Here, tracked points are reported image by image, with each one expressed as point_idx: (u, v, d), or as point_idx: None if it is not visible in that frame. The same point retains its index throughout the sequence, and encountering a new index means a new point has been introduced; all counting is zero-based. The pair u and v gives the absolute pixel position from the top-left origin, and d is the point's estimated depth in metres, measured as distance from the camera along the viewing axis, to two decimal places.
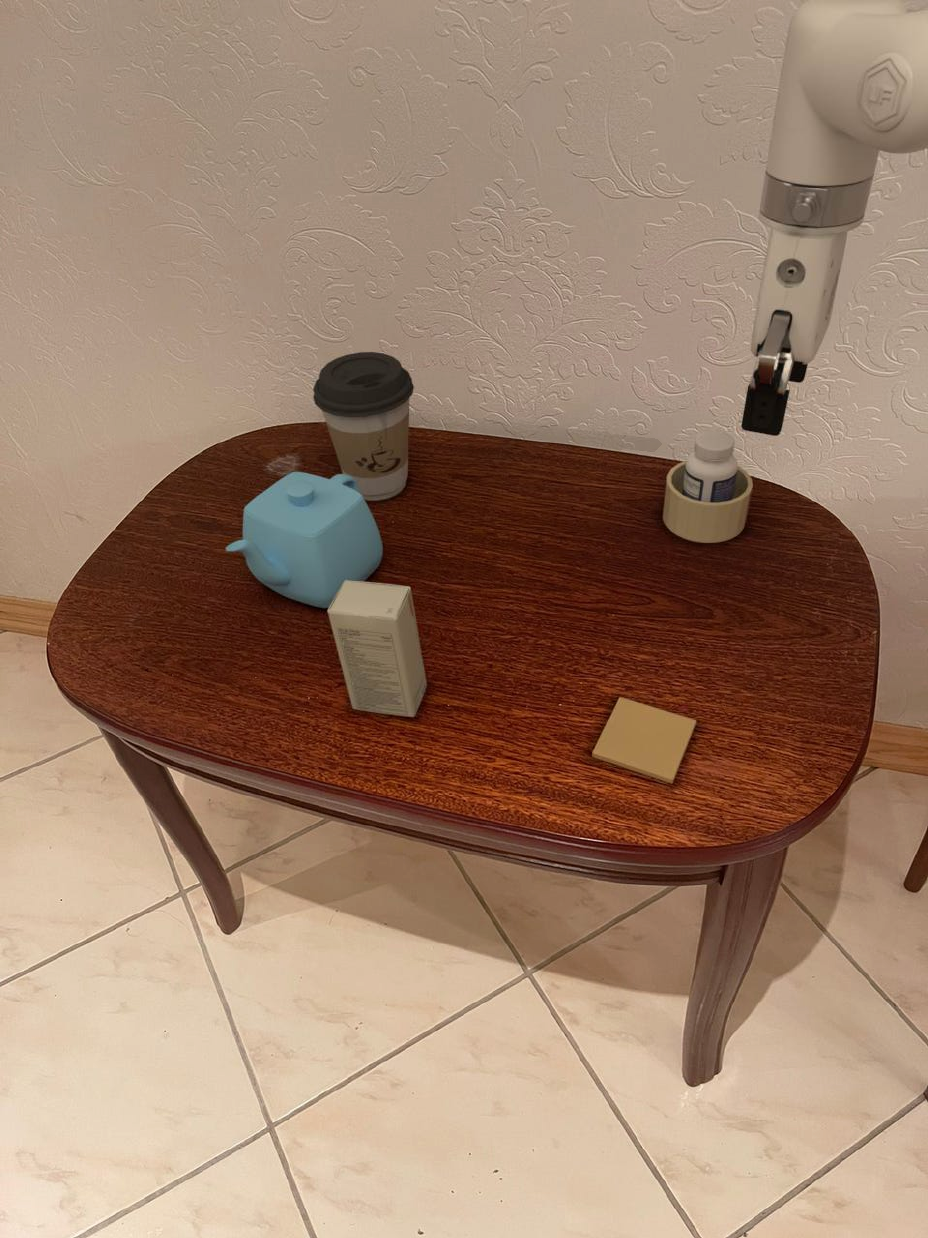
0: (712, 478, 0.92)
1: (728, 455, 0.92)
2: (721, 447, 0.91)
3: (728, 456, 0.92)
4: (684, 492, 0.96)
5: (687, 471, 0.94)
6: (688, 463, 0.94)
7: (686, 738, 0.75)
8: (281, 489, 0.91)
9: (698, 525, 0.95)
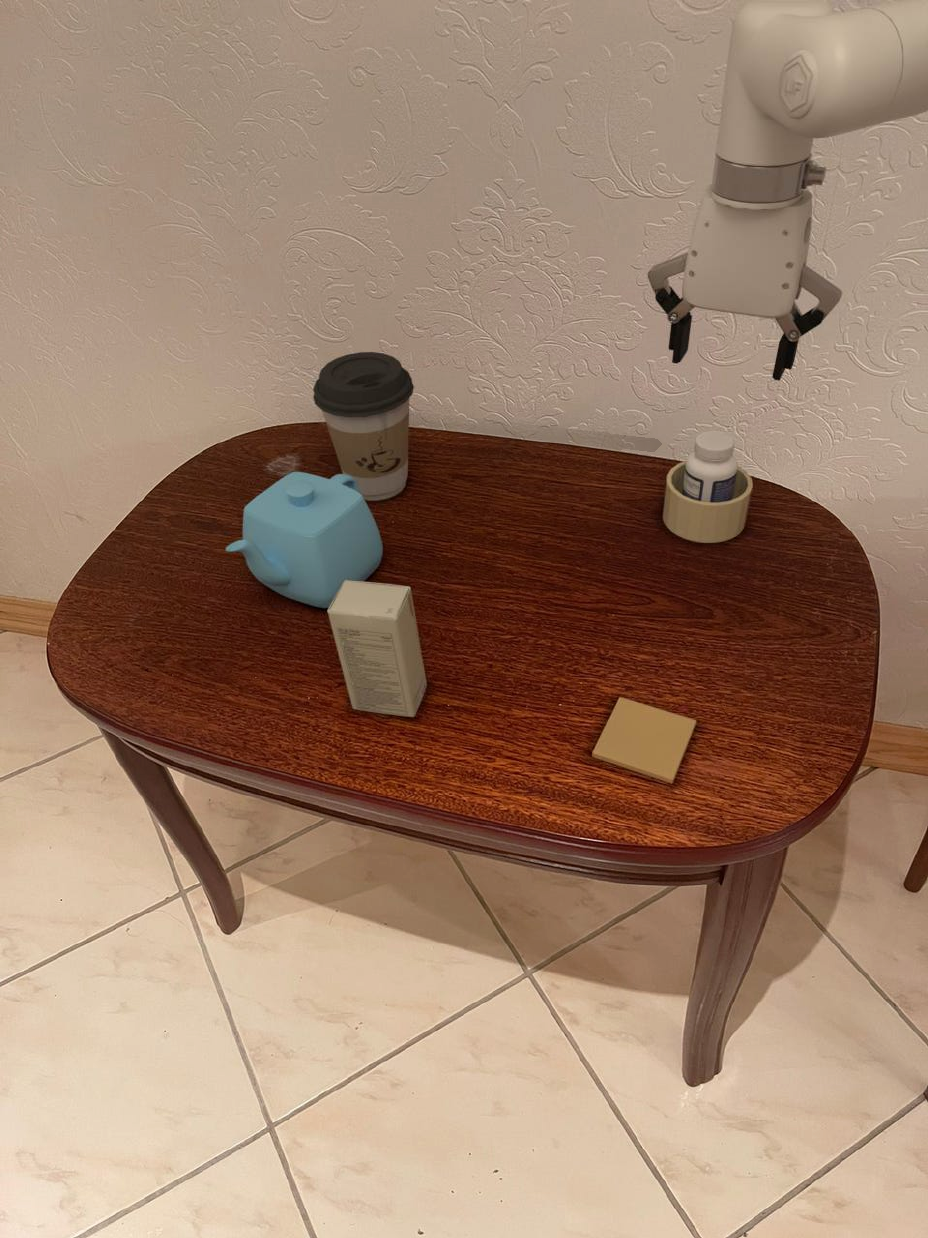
0: (712, 478, 0.92)
1: (728, 455, 0.92)
2: (721, 447, 0.91)
3: (728, 456, 0.92)
4: (684, 492, 0.96)
5: (687, 471, 0.94)
6: (688, 463, 0.94)
7: (686, 738, 0.75)
8: (281, 489, 0.91)
9: (698, 525, 0.95)
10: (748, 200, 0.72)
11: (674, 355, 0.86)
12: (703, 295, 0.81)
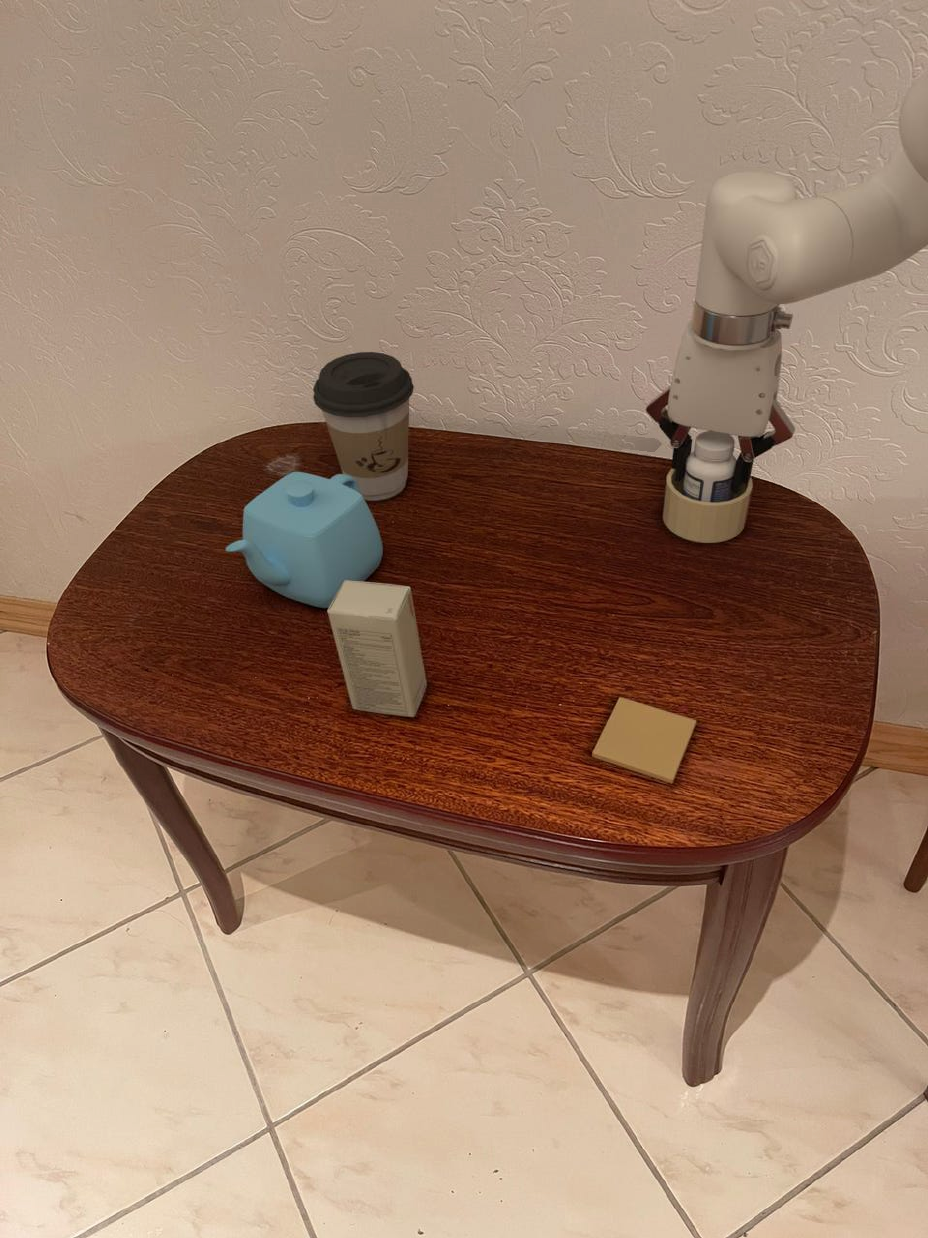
0: (712, 478, 0.92)
1: (728, 455, 0.92)
2: (721, 447, 0.91)
3: (728, 456, 0.92)
4: (684, 492, 0.96)
5: (687, 471, 0.94)
6: (688, 463, 0.94)
7: (686, 738, 0.75)
8: (281, 489, 0.91)
9: (698, 525, 0.95)
10: (724, 342, 0.82)
11: (676, 475, 0.95)
12: (686, 415, 0.90)
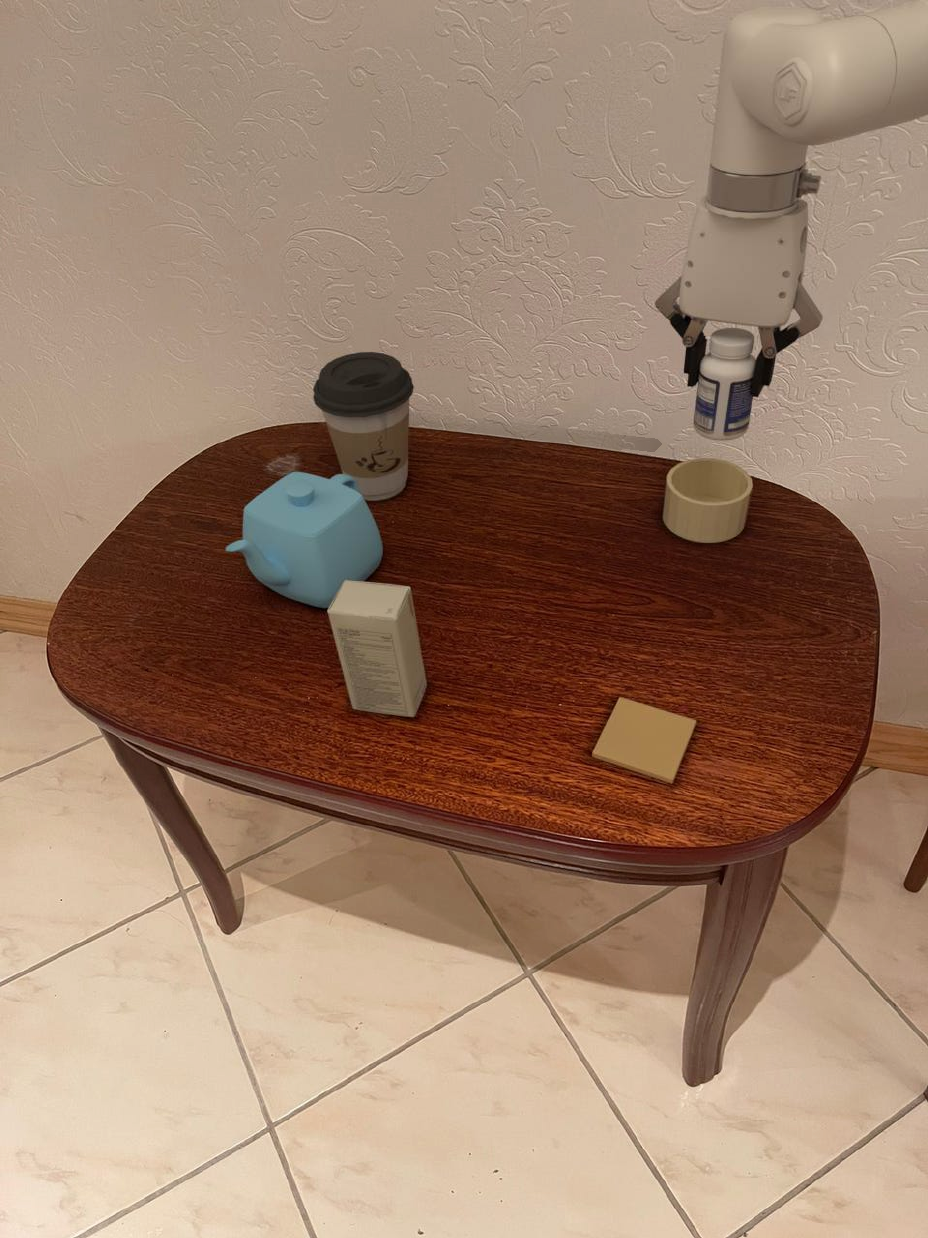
0: (730, 378, 0.83)
1: (747, 352, 0.82)
2: (739, 342, 0.82)
3: (747, 353, 0.82)
4: (698, 399, 0.87)
5: (701, 373, 0.85)
6: (702, 364, 0.85)
7: (686, 738, 0.75)
8: (281, 489, 0.91)
9: (698, 525, 0.95)
10: (743, 209, 0.72)
11: (689, 378, 0.86)
12: (700, 305, 0.80)
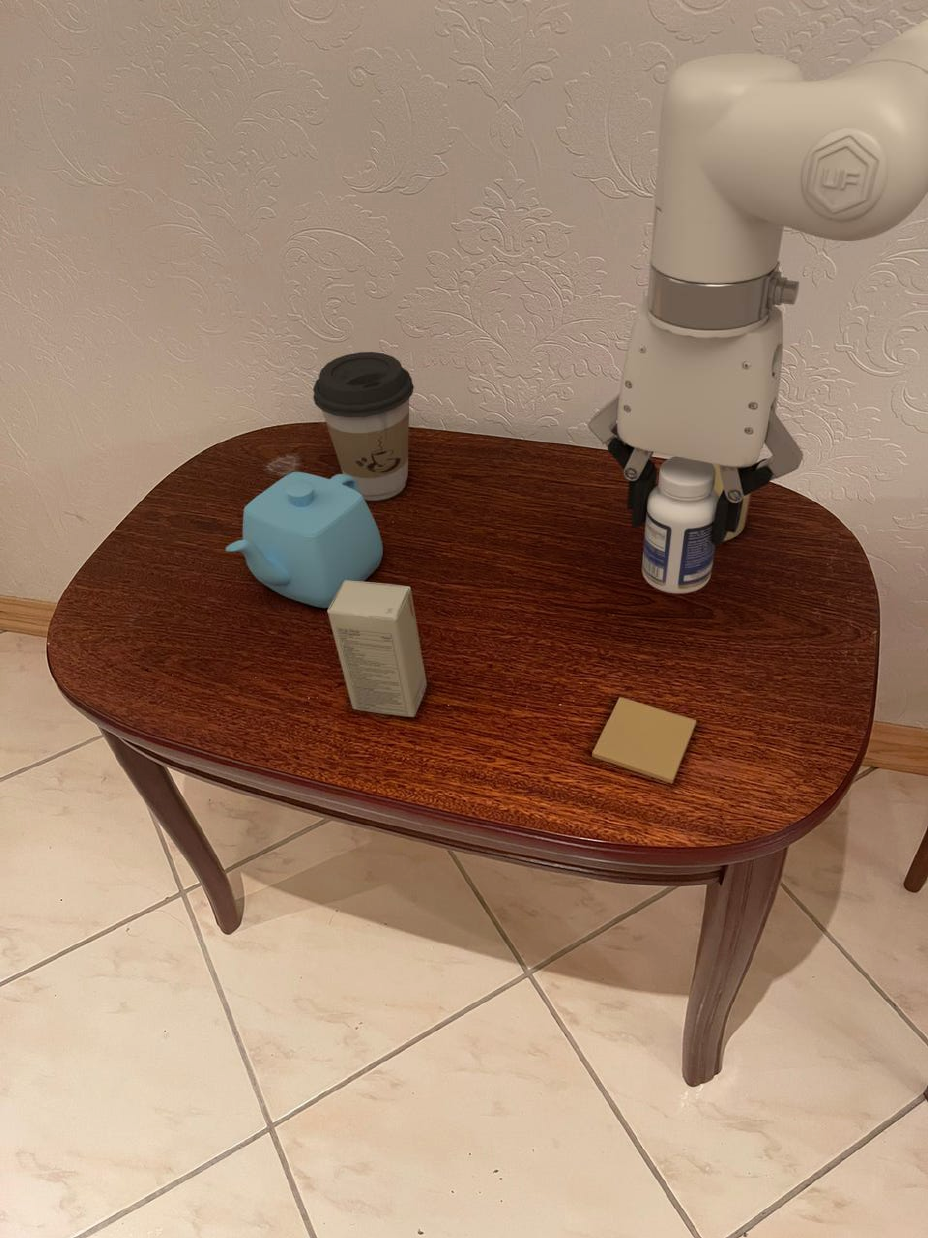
0: (684, 524, 0.64)
1: (706, 492, 0.63)
2: (696, 481, 0.63)
3: (706, 493, 0.63)
4: (646, 542, 0.68)
5: (649, 513, 0.66)
6: (649, 502, 0.66)
7: (686, 738, 0.75)
8: (281, 489, 0.91)
9: None
10: (693, 326, 0.53)
11: (634, 518, 0.67)
12: (643, 435, 0.61)
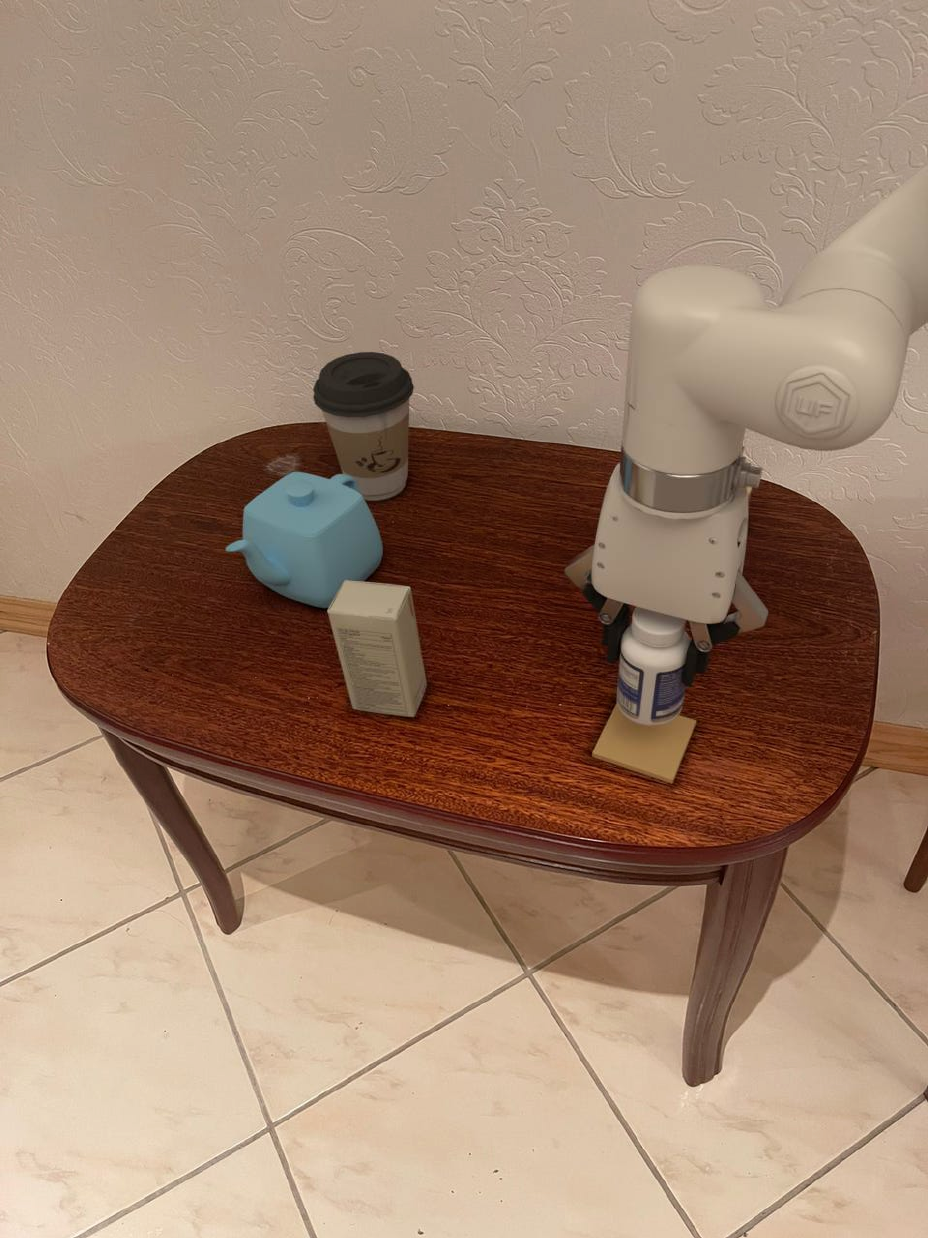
0: (655, 668, 0.67)
1: (677, 639, 0.66)
2: (667, 629, 0.65)
3: (677, 640, 0.66)
4: (620, 678, 0.70)
5: (622, 654, 0.68)
6: (623, 643, 0.68)
7: (686, 738, 0.75)
8: (281, 489, 0.91)
9: None
10: (661, 508, 0.56)
11: (608, 656, 0.69)
12: (617, 589, 0.64)
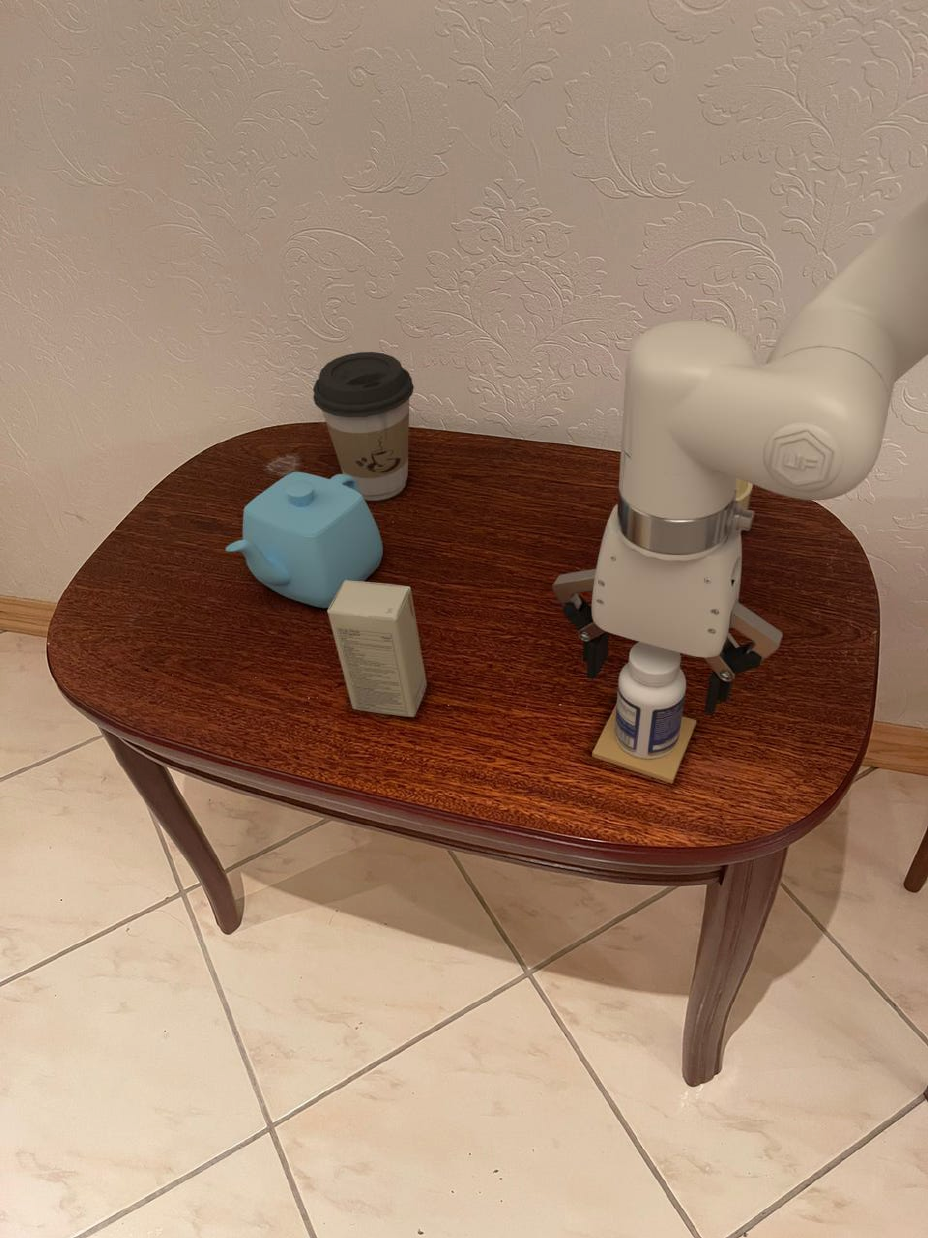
0: (651, 706, 0.69)
1: (672, 678, 0.69)
2: (662, 669, 0.68)
3: (672, 679, 0.69)
4: (618, 713, 0.73)
5: (620, 691, 0.71)
6: (620, 681, 0.71)
7: (686, 738, 0.75)
8: (281, 489, 0.91)
9: None
10: (657, 551, 0.58)
11: (589, 672, 0.72)
12: (616, 624, 0.66)
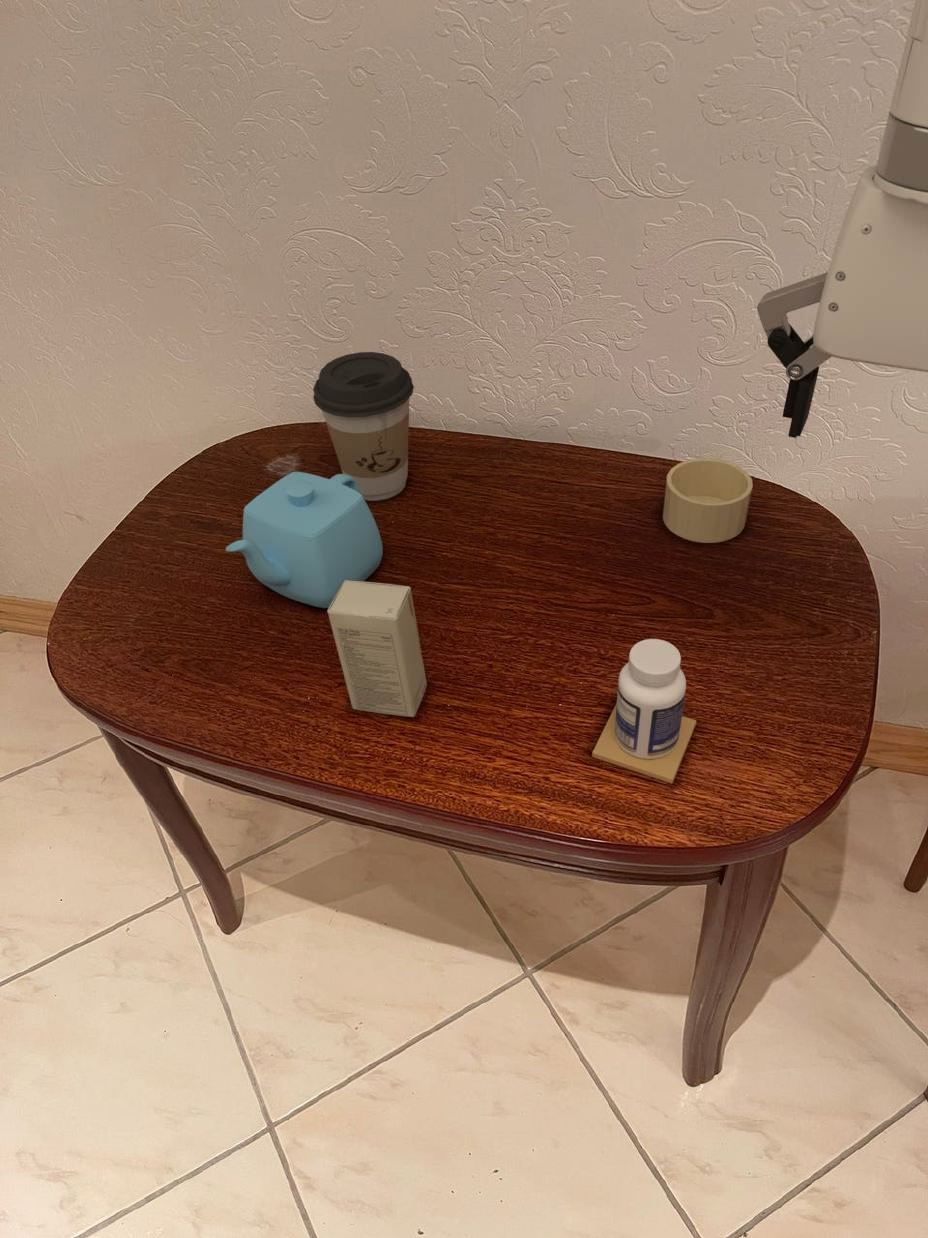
0: (651, 706, 0.69)
1: (672, 678, 0.69)
2: (662, 669, 0.68)
3: (672, 679, 0.69)
4: (618, 713, 0.73)
5: (620, 691, 0.71)
6: (620, 681, 0.71)
7: (686, 738, 0.75)
8: (281, 489, 0.91)
9: (698, 525, 0.95)
10: None
11: (793, 426, 0.58)
12: (850, 339, 0.52)
